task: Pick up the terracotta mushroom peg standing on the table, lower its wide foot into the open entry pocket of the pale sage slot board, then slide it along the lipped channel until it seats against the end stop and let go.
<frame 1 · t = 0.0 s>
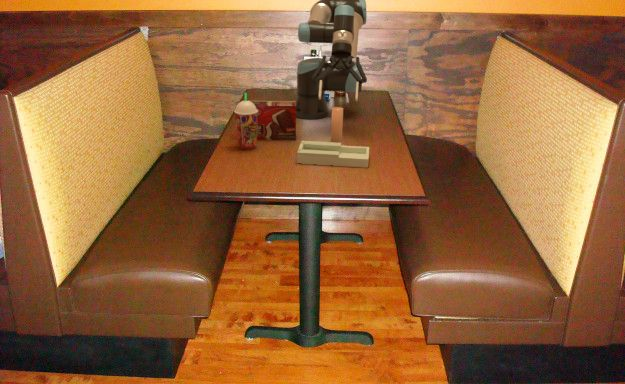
hand: (338, 98, 216), 15 cm above the table, tool tilted 35°, fingers open, 13 cm apart
ice cream box: (269, 138, 222), on the table
slot board: (333, 159, 202), on the table
peg: (336, 148, 212), on the table
smoothie: (247, 147, 211), on the table
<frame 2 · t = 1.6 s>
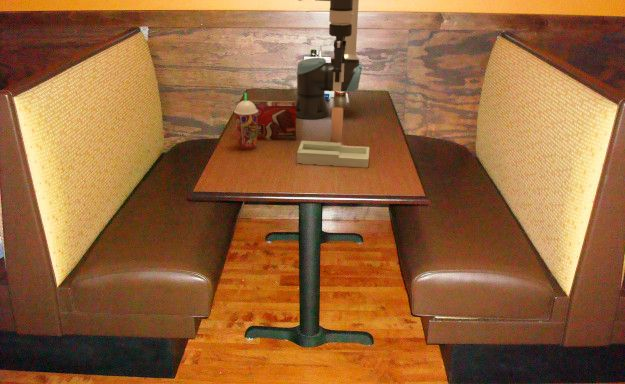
hand: (338, 86, 202), 23 cm above the table, tool pointing down, fingers open, 13 cm apart
nothing on the table moved.
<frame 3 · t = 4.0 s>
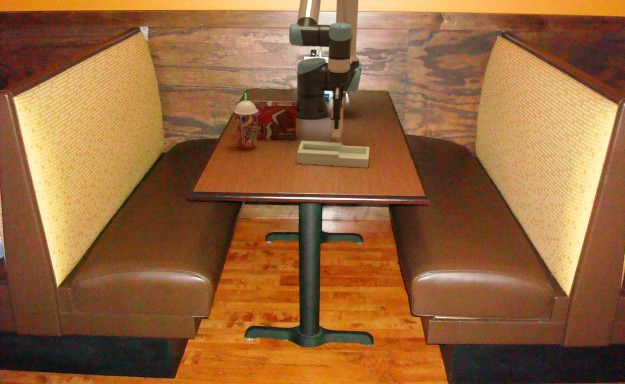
hand: (336, 134, 210), 5 cm above the table, tool pointing down, fingers closed on peg, 4 cm apart
peg: (336, 148, 212), on the table, touching gripper
everything else where it was.
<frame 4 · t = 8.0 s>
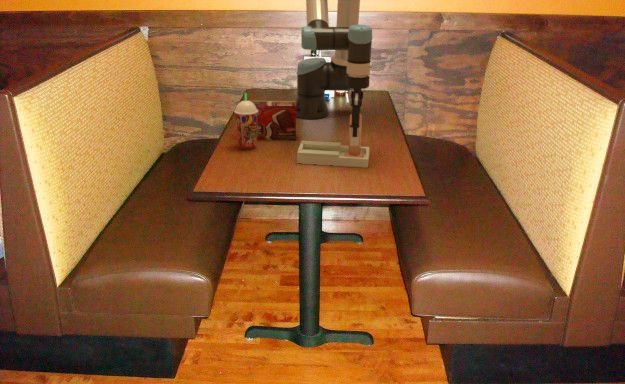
hand: (354, 142, 199), 6 cm above the table, tool pointing down, fingers closed on peg, 4 cm apart
peg: (353, 156, 201), point 1 cm above the table, touching gripper
everything else where it was.
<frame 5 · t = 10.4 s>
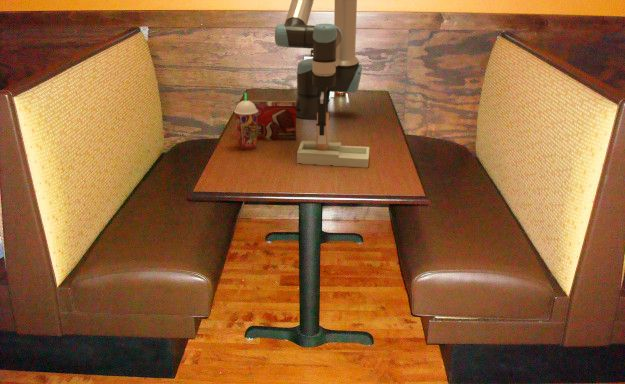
hand: (322, 141, 200), 6 cm above the table, tool pointing down, fingers closed on peg, 4 cm apart
peg: (321, 155, 202), point 1 cm above the table, touching gripper
everything else where it was.
when the fingers open (7 cm above the table, at t = 12.3 s): peg stays where it is, resting on slot board.
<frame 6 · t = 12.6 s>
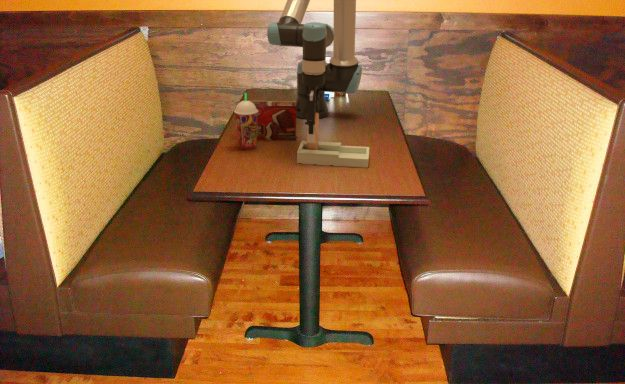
hand: (312, 137, 200), 7 cm above the table, tool pointing down, fingers open, 8 cm apart
peg: (312, 155, 202), point 1 cm above the table, touching slot board
everything else where it was.
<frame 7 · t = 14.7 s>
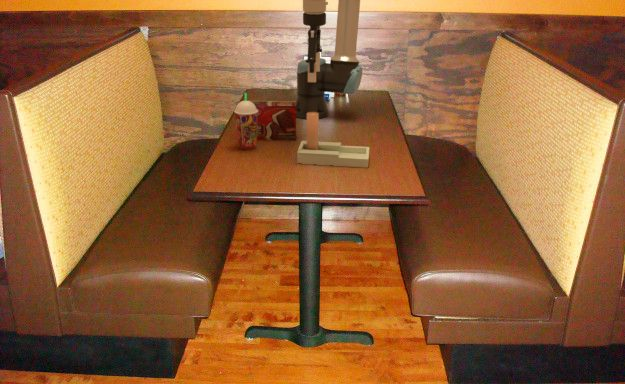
hand: (313, 76, 199), 27 cm above the table, tool pointing down, fingers open, 13 cm apart
nothing on the table moved.
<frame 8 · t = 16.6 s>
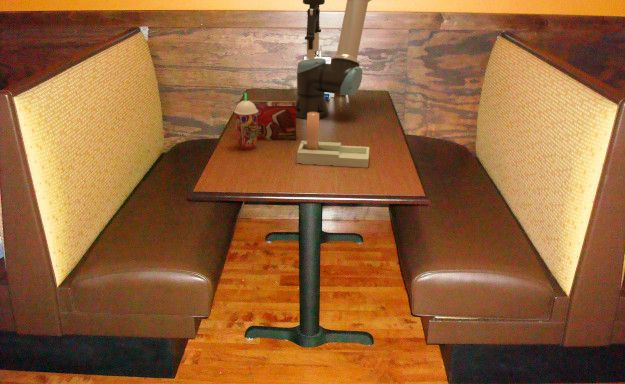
hand: (312, 54, 207), 32 cm above the table, tool pointing down, fingers open, 13 cm apart
nothing on the table moved.
at the end: peg 0.2 cm from the target spot on the slot board, point 1.1 cm above the slot board's base; peg tilted 1°; the gripper is holding nothing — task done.
